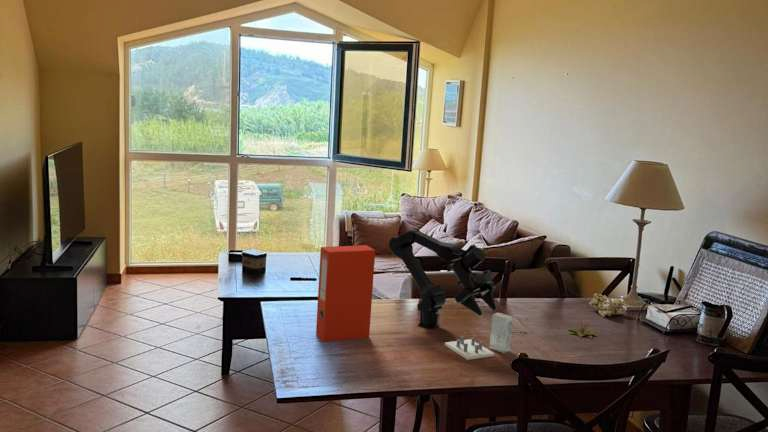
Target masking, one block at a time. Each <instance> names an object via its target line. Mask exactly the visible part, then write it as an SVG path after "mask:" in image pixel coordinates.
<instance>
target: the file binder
mask: <svg viewBox="0 0 768 432" xmlns="http://www.w3.org/2000/svg"><path fill="white" fill-rule="evenodd" d="M319 255H320V256H319V272H318V273H319V275H318V291H317V307H316V308H317V309H316V326H315V335H316V336H317V337H318V338H319V339H320V340H321V341H322V342H323V343H328V342H338V341H344V340H345V341H347V340H355V339H356V340H358V339H364V338H369V337H370V330H371V329H370V327H371V318H372V303H373V301H372V300H373V290H374V289H373V288H374V286H373V285H374V274H375V261H376V260H375V259H376V249H374V248H372V247H370V246H369V245H366V244H364V245H340V246H320V254H319Z"/></svg>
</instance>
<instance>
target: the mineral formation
mask: <svg viewBox="0 0 768 432" xmlns="http://www.w3.org/2000/svg"><path fill="white" fill-rule="evenodd" d="M624 305H625V301H624V300H620V299H619V298H615V299H613V300H612V299H611V298H608V296H606V295H603V294H598V293H594V294H593V298H591V301H590V302H589V306H590V307H594V309H596V310H597V312H598V314H599V315H600V316H601V317H603V318H604V317H606V316H607V317H611V316H612V315H615V316H617V315H620V314H622V313H623V312H627V308H624V307H623V306H624Z"/></svg>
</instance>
